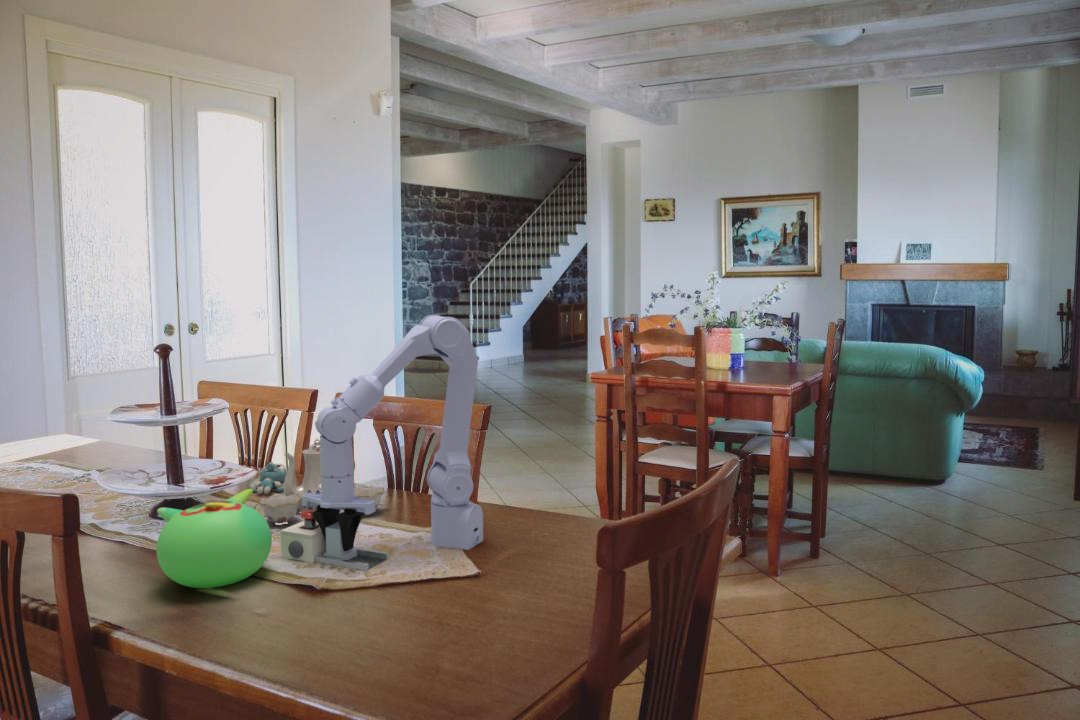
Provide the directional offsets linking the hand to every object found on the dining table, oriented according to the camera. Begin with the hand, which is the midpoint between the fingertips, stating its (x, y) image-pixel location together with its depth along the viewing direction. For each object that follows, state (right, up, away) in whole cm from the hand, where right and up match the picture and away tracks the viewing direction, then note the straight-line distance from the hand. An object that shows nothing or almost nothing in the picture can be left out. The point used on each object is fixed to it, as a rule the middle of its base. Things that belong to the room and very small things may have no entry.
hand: (340, 548), depth 151 cm
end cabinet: (-6, -3, +3) cm, 7 cm away
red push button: (-6, +1, +2) cm, 7 cm away
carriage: (0, -2, 0) cm, 2 cm away
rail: (+2, -3, -1) cm, 4 cm away
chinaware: (-11, 0, +31) cm, 33 cm away
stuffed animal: (-29, +2, +51) cm, 59 cm away
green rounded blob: (-19, -4, -9) cm, 21 cm away
